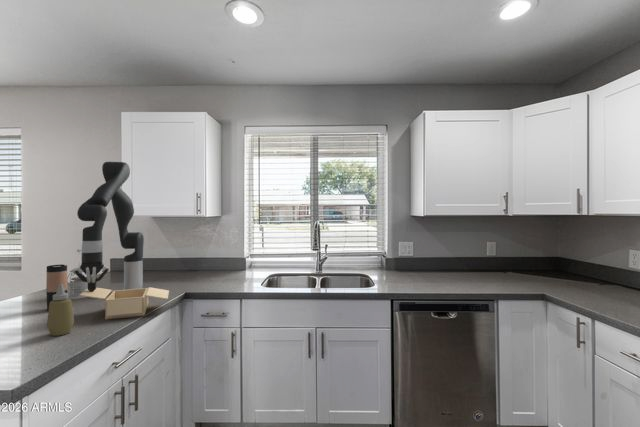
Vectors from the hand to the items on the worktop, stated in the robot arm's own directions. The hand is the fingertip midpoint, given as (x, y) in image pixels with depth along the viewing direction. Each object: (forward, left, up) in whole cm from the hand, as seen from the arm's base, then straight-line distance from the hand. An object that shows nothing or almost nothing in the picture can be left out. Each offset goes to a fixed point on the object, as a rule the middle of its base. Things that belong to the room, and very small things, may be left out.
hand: (91, 291), depth 147 cm
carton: (0, +14, -10) cm, 17 cm away
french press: (-42, -15, -11) cm, 46 cm away
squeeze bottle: (+22, -5, -11) cm, 25 cm away
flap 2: (0, +21, -2) cm, 21 cm away
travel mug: (-17, -17, -11) cm, 27 cm away
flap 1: (0, +6, -2) cm, 7 cm away
